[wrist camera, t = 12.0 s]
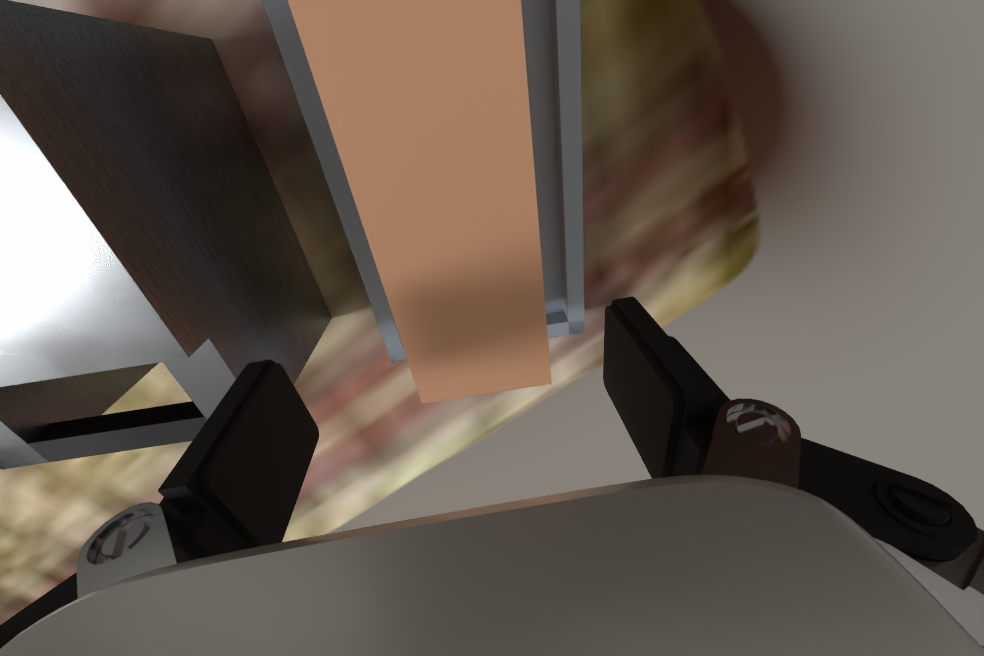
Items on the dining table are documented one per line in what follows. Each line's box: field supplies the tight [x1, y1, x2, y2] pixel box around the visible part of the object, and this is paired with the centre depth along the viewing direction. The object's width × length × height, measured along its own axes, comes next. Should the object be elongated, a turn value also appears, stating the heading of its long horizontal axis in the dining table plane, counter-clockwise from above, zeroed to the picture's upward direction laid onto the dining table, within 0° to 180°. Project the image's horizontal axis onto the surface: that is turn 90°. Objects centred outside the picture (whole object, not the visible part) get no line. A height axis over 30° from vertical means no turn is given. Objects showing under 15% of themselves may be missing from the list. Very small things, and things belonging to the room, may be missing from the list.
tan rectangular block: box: [288, 0, 551, 404], centre depth 14 cm, size 13×5×6 cm, turn 8°
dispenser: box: [0, 0, 332, 469], centre depth 13 cm, size 12×10×9 cm
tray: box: [262, 0, 585, 362], centre depth 16 cm, size 16×10×2 cm, turn 8°
